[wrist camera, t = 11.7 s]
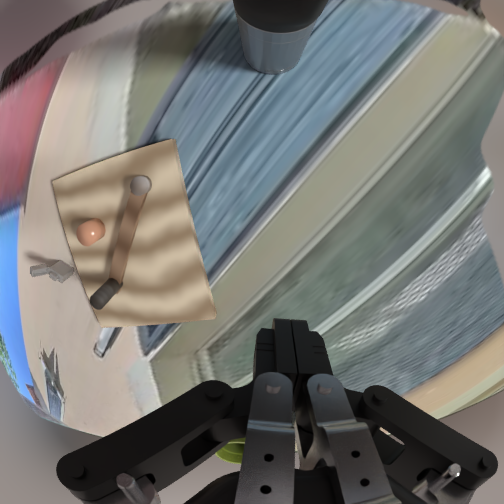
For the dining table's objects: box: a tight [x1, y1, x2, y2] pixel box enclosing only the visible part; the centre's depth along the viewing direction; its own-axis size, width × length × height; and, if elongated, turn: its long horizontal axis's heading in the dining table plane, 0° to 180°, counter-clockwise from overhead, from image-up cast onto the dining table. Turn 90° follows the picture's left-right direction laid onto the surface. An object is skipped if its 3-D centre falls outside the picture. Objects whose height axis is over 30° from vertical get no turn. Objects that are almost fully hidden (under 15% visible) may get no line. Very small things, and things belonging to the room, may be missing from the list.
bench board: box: [52, 139, 217, 328], centre depth 48 cm, size 32×26×2 cm
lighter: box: [30, 260, 74, 283], centre depth 47 cm, size 7×2×8 cm, turn 63°
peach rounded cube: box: [76, 218, 106, 246], centre depth 44 cm, size 4×4×4 cm
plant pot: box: [215, 437, 246, 464], centre depth 59 cm, size 12×12×11 cm
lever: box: [90, 175, 152, 310], centre depth 42 cm, size 22×3×8 cm, turn 156°
